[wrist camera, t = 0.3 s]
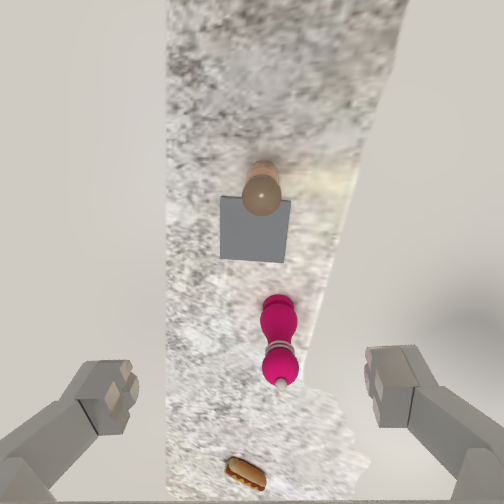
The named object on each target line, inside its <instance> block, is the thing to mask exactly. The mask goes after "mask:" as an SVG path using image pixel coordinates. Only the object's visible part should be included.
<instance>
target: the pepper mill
mask: <svg viewBox="0 0 504 504" xmlns="http://www.w3.org/2000/svg"><path fill="white" fill-rule="evenodd" d="M260 324H261V328H262V331H263V333H264V334H265V336H266V338H267V340H268V346H267V347H266V350H265V358H264V360H263V363H262V371H263V375H264V377H265V379H266V380H267V381H268V382H269V383H271V384H272V385H275V386H276V388H277V389H278V390H280V391H282V390H285V389H286V387H287V385H290V384H291V383H292V382H294V381H295V379H296V378H297V376H298V372H299V364H298V361H297V359H296V357H295V353H294V348H293V346H292V345H291V338H292V336H293V334H294V332H295V331H296V328H297V316H296V313H295V312H294V307H293V303H292V301H291V300H290V299H289V298H287V297H285V296H282V295H274V296H271V297H269V298H268V299H266V301H265V302H264V304H263V312H262V314H261V317H260Z"/></svg>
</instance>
